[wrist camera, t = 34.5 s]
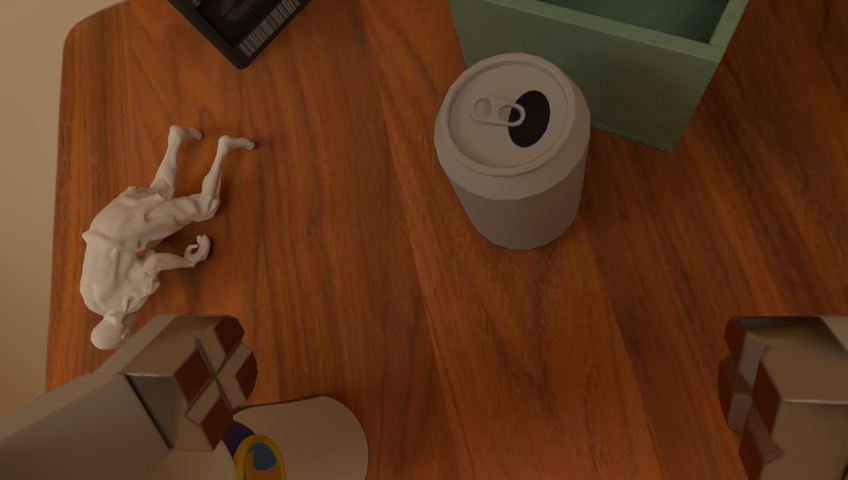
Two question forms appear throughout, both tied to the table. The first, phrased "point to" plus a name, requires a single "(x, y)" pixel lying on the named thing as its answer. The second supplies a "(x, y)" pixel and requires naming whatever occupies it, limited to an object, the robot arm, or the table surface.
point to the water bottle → (278, 446)
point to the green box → (613, 53)
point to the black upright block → (239, 23)
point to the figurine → (145, 240)
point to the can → (515, 148)
